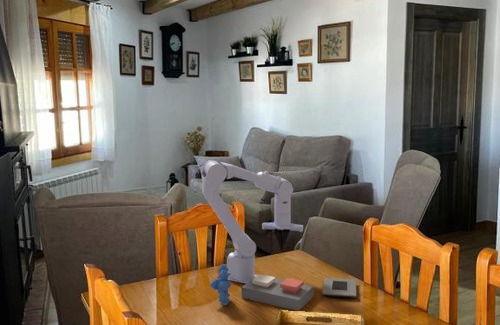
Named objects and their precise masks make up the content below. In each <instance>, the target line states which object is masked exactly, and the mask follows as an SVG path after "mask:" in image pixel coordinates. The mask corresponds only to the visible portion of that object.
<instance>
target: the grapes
mask: <svg viewBox="0 0 500 325" xmlns="http://www.w3.org/2000/svg"><path fill="white" fill-rule="evenodd" d="M217 272H218V275H217V278H216V279H215V278H214V279H213V280H212V281H211V283H210V284H209V285H210V287H211V289H213V291H217V293H218V301H219V302H220V304H221V305H222V306H227V304H229V302H230V296H231V295H230V293H229V288H230V287H231V286H232V282H231V280H228V276H229V274H228V273H227V272H228V267H227V264H224V263H222V264H220V266H219V267H218V270H217Z"/></svg>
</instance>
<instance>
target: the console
mask: <svg viewBox="0 0 500 325" xmlns="http://www.w3.org/2000/svg"><path fill="white" fill-rule="evenodd" d="M257 275H258V276H259V275H260V274H257ZM255 278H256V277H255ZM284 280H285V279H282V278H277V277H275V281H274V282H273V284H272V285H270V286H269V287H268V288H265V287H261V286H256V285H255V284H253V283H252V280H251V281H250V282H248V283H247V284H245V283H244V285H243V286H241V298H242V299H245V300H249V301H254V302H259V303H262V304H267V305H270V306H271V305H272V306H276V307H281V308H284V309H288V310H292V309H293V310H292V311H297V310H299V311H300V310H301V309H302V308H304V306H305V305H306V304H307V303H309V301H310V300H312V299H313V297H314V296H315V295H314V294H315V290H314V289H315V287H314V285H309V284H306V283H304V285H303V286H302V287H301V290H300V291H299V292H298V293H297V294H293V293H288V292H284V291H283V288H280V284H281V283H282V282H283V281H284Z"/></svg>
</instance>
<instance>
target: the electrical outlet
mask: <svg viewBox="0 0 500 325" xmlns="http://www.w3.org/2000/svg"><path fill="white" fill-rule="evenodd" d="M322 287H323V289H322V295H323V296H327V297H329V296H330V297H340V298H341V297H342V298H354V299H355V298H356V297H357V279H349V278H348V279H347V278H346V279H345V278H335V277H332V278H330V277H324V279H323V286H322Z"/></svg>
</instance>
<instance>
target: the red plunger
mask: <svg viewBox="0 0 500 325" xmlns="http://www.w3.org/2000/svg"><path fill="white" fill-rule="evenodd" d="M283 280H284V281H283V282H282V283H281V284H280V288H283V291H284V292H288V293H293V294H297V293H298V292H299V291H300V290H301V287H302V286H303V285H304V284H305V283H304V280H300V279H294V278H290V277H286V278H285V279H283Z"/></svg>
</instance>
